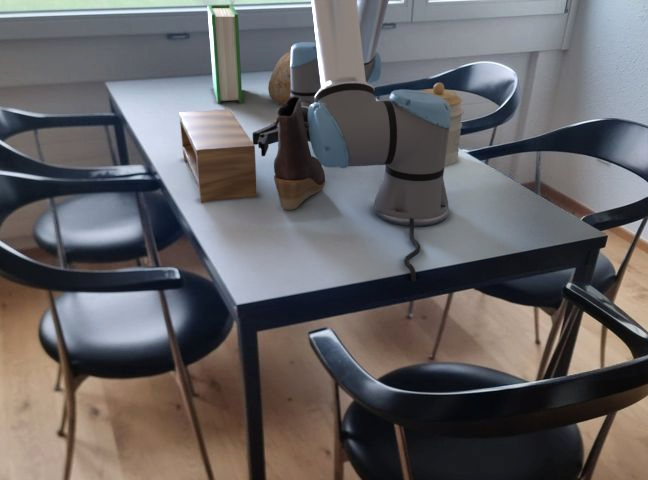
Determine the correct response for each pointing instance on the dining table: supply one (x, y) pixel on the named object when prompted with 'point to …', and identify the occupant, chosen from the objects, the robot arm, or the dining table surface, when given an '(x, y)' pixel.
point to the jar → (454, 120)
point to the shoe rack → (218, 155)
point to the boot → (295, 158)
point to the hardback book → (225, 52)
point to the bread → (281, 80)
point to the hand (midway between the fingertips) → (294, 151)
